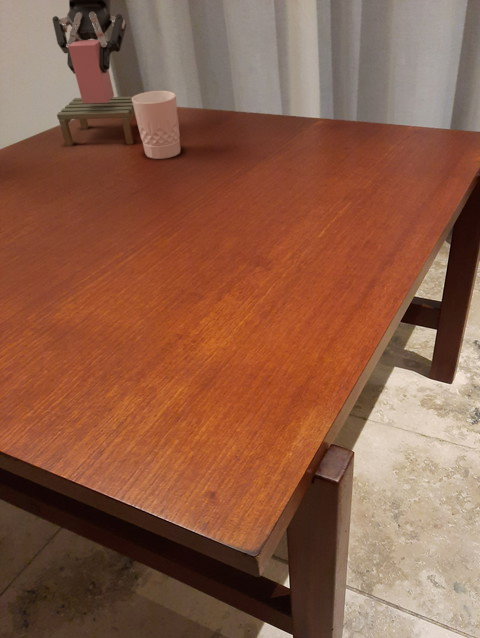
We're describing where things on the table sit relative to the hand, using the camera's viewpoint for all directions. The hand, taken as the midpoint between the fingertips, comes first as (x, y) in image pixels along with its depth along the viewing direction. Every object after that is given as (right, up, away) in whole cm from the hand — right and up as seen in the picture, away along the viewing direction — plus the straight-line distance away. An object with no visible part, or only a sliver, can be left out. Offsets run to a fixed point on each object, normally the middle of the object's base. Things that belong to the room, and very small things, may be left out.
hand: (88, 70), depth 106 cm
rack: (0, -8, +10) cm, 13 cm away
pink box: (0, -3, +5) cm, 6 cm away
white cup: (+14, -16, +1) cm, 21 cm away
